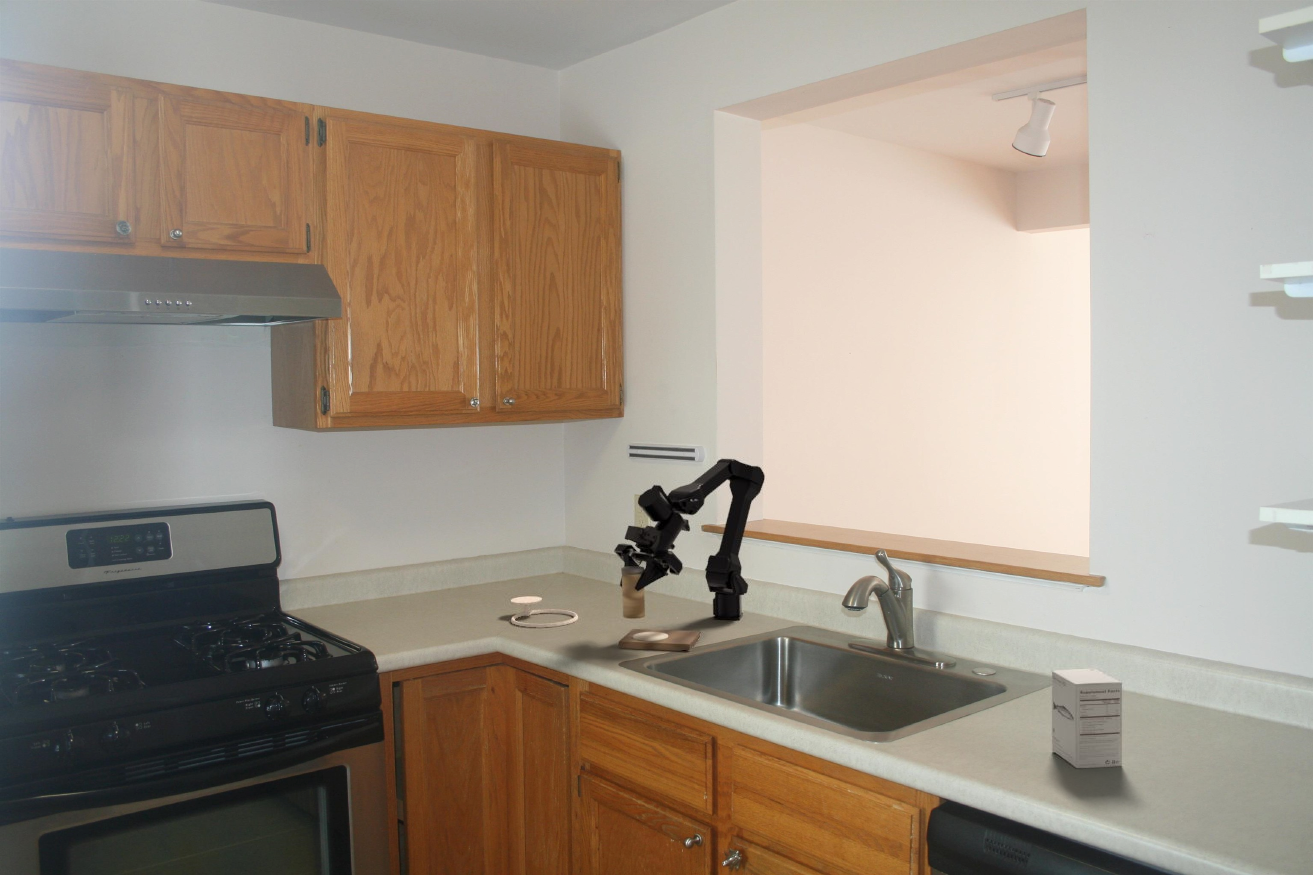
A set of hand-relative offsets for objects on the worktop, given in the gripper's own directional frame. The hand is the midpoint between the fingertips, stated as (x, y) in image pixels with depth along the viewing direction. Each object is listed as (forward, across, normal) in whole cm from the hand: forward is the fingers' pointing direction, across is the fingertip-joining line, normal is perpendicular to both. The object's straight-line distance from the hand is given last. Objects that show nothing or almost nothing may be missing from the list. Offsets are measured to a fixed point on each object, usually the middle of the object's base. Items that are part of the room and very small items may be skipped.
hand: (628, 588), depth 221 cm
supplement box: (+6, +103, +12) cm, 104 cm away
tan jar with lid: (+4, 0, +6) cm, 7 cm away
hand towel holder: (+10, -35, +8) cm, 37 cm away
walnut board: (+6, +5, +12) cm, 14 cm away
